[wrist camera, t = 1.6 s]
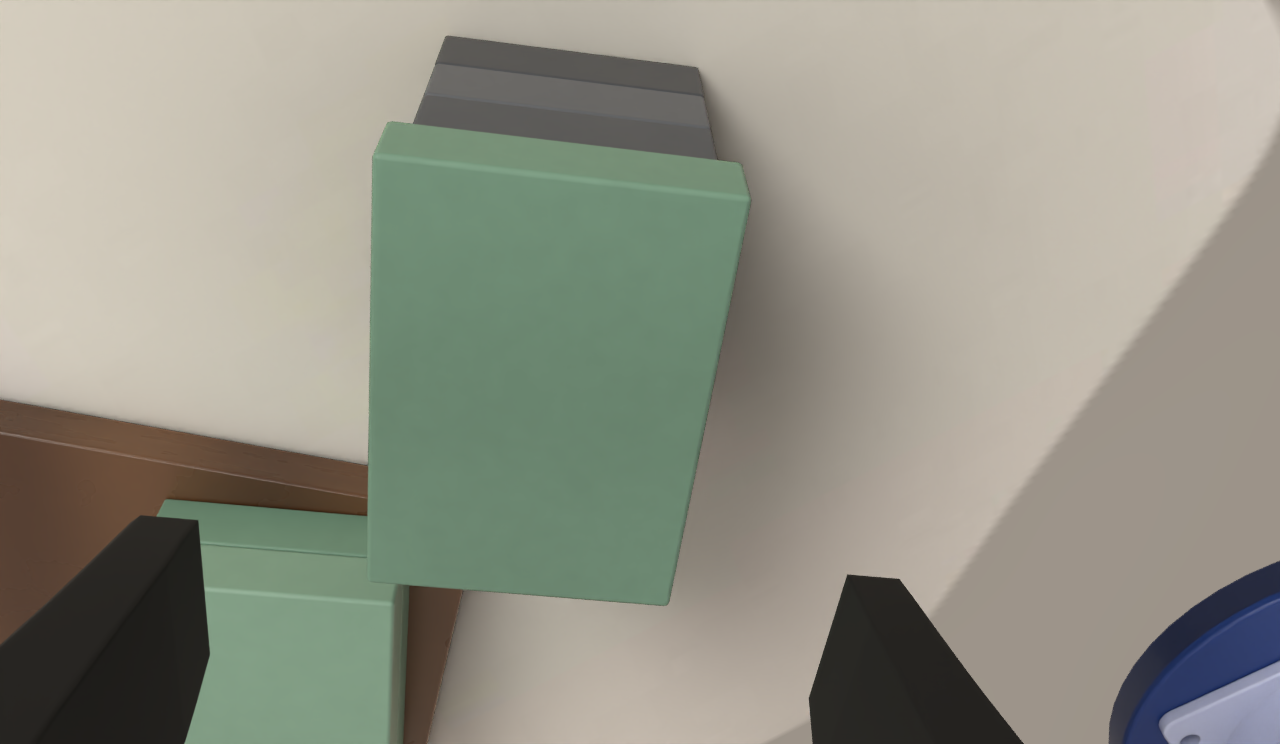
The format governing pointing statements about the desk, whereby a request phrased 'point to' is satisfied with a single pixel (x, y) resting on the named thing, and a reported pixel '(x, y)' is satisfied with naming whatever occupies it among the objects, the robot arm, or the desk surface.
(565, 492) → the sage book
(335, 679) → the green flat block
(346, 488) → the book ledge
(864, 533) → the desk surface
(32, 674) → the robot arm
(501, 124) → the grey books
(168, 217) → the desk surface
